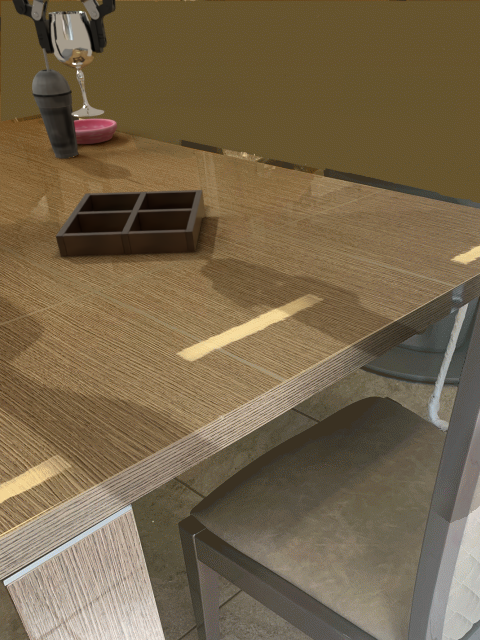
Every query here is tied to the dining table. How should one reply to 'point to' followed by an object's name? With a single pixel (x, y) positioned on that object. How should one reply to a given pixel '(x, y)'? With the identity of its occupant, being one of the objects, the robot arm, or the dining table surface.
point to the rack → (133, 223)
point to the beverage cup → (56, 110)
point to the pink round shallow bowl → (94, 130)
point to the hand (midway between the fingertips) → (75, 51)
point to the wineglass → (74, 48)
